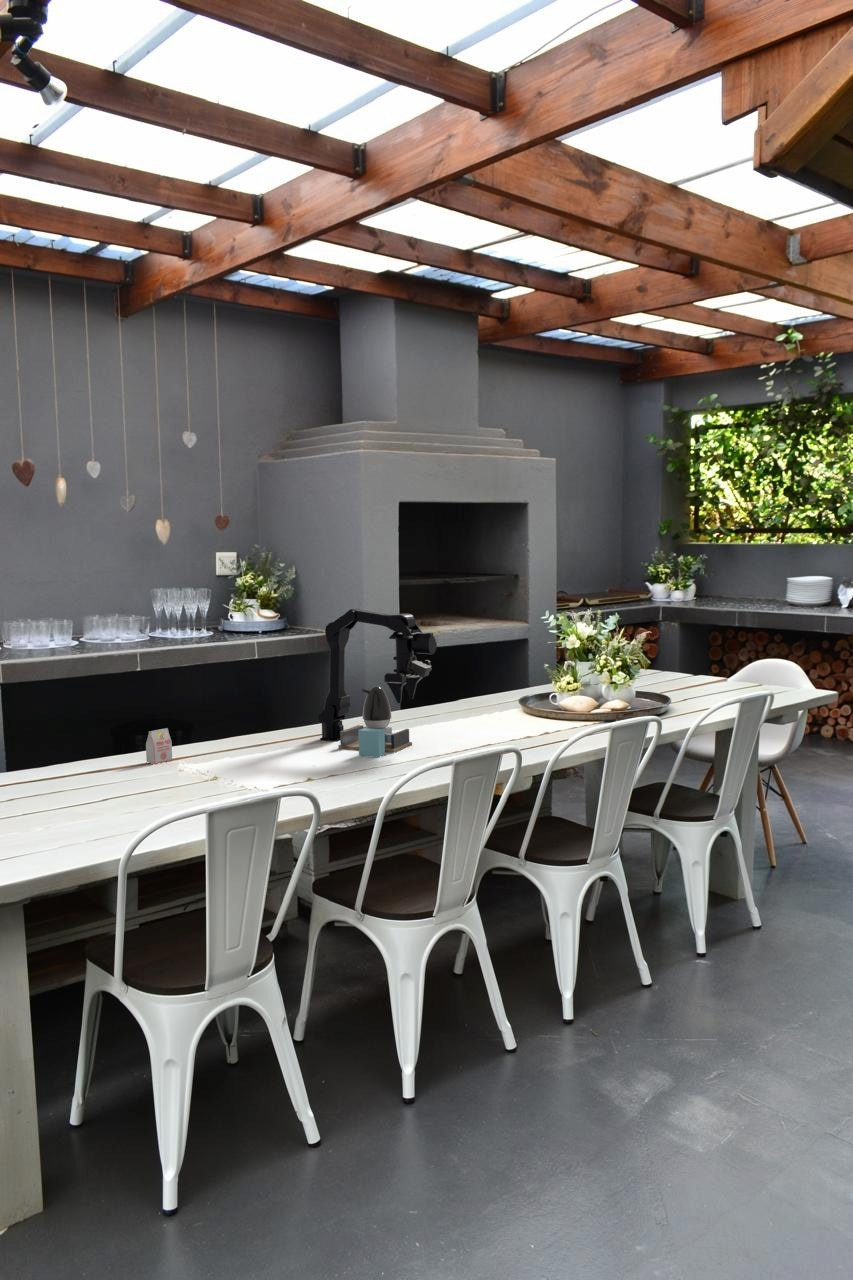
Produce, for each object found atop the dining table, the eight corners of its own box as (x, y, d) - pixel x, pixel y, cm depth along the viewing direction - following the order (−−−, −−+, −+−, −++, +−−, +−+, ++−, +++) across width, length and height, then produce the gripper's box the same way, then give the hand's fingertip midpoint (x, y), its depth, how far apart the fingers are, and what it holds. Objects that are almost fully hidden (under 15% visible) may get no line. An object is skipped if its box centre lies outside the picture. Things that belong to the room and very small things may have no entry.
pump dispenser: (361, 726, 365) (360, 684, 363) (390, 725, 366) (389, 683, 365) (363, 731, 355) (362, 688, 353) (392, 730, 356) (391, 687, 355)
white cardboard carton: (146, 763, 308) (145, 730, 307) (164, 759, 314) (163, 727, 313) (154, 764, 306) (152, 732, 305) (172, 760, 311) (171, 728, 310)
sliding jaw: (370, 747, 321) (370, 733, 320) (387, 740, 332) (387, 727, 331) (393, 749, 318) (393, 735, 317) (410, 741, 328) (409, 728, 328)
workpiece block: (358, 755, 314) (358, 730, 313) (365, 753, 317) (364, 728, 317) (379, 757, 311) (378, 731, 310) (384, 754, 314) (384, 729, 314)
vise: (338, 748, 325) (338, 731, 325) (357, 741, 337) (357, 724, 337) (394, 752, 317) (393, 735, 316) (412, 745, 329) (411, 728, 328)
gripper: (415, 656, 315) (416, 706, 316) (439, 650, 331) (439, 698, 333) (383, 655, 319) (384, 704, 321) (408, 649, 336) (409, 696, 337)
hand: (405, 700), depth 328 cm, fingers open, 9 cm apart
